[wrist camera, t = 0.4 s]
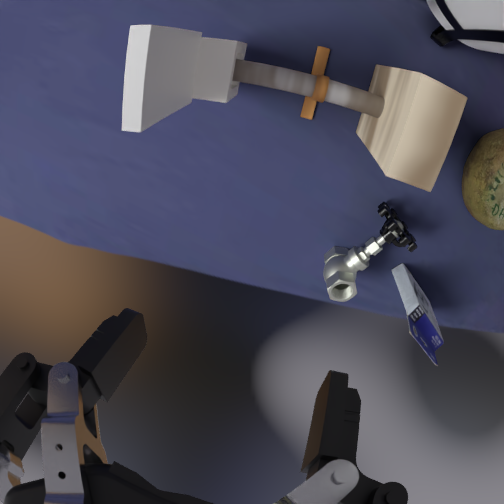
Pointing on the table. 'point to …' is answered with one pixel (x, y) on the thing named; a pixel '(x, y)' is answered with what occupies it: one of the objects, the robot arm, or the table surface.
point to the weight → (486, 180)
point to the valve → (362, 255)
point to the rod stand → (379, 112)
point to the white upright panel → (174, 72)
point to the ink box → (418, 312)
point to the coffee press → (470, 23)
